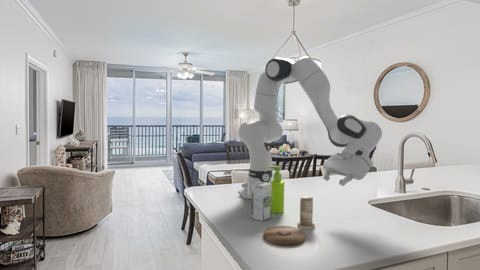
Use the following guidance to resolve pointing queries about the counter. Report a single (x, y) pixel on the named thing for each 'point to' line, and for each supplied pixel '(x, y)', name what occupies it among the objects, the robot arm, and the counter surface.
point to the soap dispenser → (277, 192)
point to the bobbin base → (284, 235)
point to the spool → (306, 213)
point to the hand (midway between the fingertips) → (332, 182)
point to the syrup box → (261, 201)
